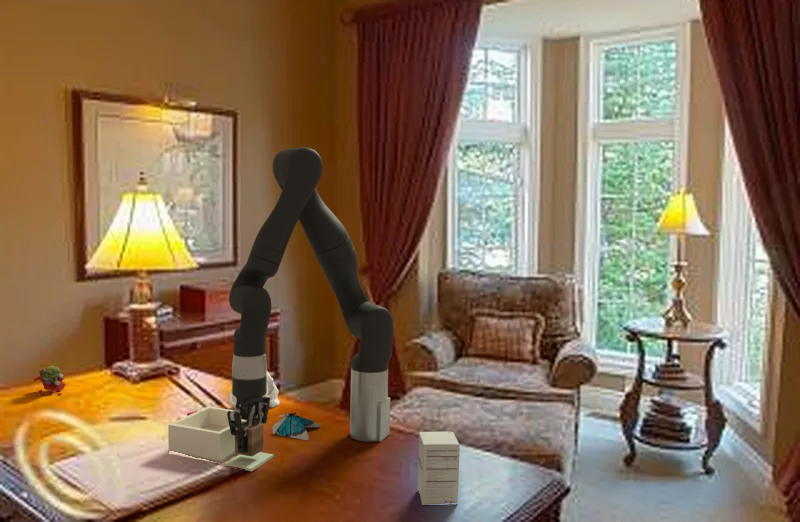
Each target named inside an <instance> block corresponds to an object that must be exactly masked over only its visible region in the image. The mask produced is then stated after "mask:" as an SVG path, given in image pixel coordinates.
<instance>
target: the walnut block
mask: <svg viewBox="0 0 800 522" xmlns="http://www.w3.org/2000/svg"><path fill="white" fill-rule="evenodd" d="M246 422H247V421H246ZM242 428H243V431H244V425H242ZM235 430H236V427H235ZM263 450H264V423H263V424H260V423H254V422H252V425H251V426H249V429H248V451H247V452H246V453H242V452H239V451H238V437H237V436H235V454H236V455H239V454H241V455H246V456H251V457H252V456H254V455H256V454H257V453H259V452H262V451H263Z"/></svg>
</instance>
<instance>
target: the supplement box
mask: <svg viewBox="0 0 800 522" xmlns="http://www.w3.org/2000/svg"><path fill="white" fill-rule="evenodd" d="M418 434H419V435H418V461H417V462H418V464H417V465H418V466H417V492H418V491H419V492H418V494H420V495H419V498H420V502H421V506H423V505H429V504H445V503H450V504H451V503H458V504H459V478H460V475H459V474H460V451H461V449H460V443H459V441H458V439H457V437H456V436H457V435H455V432H454V431H420V432H419V433H418Z"/></svg>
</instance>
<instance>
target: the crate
mask: <svg viewBox="0 0 800 522" xmlns="http://www.w3.org/2000/svg"><path fill="white" fill-rule="evenodd" d="M233 410H234V409H227V408H221V407H215V406H207V407H204V408H202V409H199V410H196V411H197V412H195V413H193V414H191V415H189V416H187V415H186V416H185V417H182V418H180V419H178V420H175V421H173V422H170V423H168V429H167V431H168V432H167V433H168V435H167V436H168V437H167V439H168V451H169V450H170V451H174V452H178V453H182V454H185V455H188V456H192V457H195V458H201V459H206V460H209V461H213V462H217V463H221V462H223V461H225V460H226V461H229V460H230V459H232V458H234V457H236V456H237V454H235V435H231V432H230V427H229V422H228V417H227V413H228V411H233ZM241 421H244V422H246V421H247V420H243V419H241ZM229 458H230V459H229ZM226 461H225V462H226ZM223 463H224V462H223ZM221 464H222V463H221Z"/></svg>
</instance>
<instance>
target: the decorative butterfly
mask: <svg viewBox="0 0 800 522" xmlns="http://www.w3.org/2000/svg"><path fill="white" fill-rule="evenodd" d="M301 412H302V413H303V412H304V411H301ZM301 412H299V411H298V412H289V413H284V414H280V415H278V416H277V417H278V418H280V417H281V418H282V419H279V420H278V421H277V422H275V423H274V424H273V425H272V433H273V434H274V435H277V436H282V437H290V438H291V439H292V438H293V439H298V440H303V441H309V433H308V431H307V428H321V425H320V424H318V423H317V422H315V421H313V420H312V419H309V418H305V417H304V416H300V415H297V414H302V413H301Z"/></svg>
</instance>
